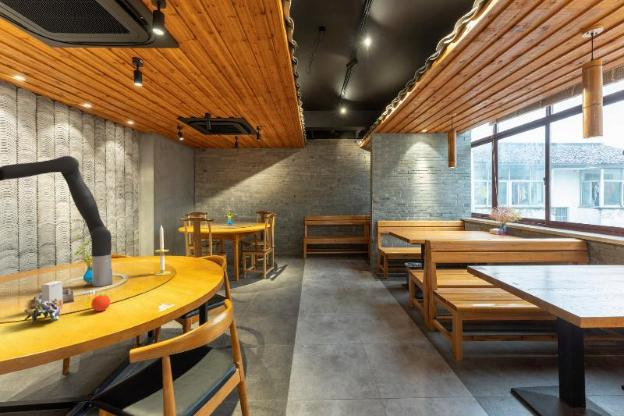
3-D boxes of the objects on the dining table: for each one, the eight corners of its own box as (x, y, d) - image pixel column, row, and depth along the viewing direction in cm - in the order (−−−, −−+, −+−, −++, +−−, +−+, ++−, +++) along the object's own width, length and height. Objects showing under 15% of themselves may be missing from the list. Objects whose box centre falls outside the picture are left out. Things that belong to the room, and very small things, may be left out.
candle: (168, 270, 202) (167, 223, 201) (172, 273, 195) (171, 224, 193) (152, 273, 196) (151, 224, 195) (156, 276, 188) (154, 225, 187)
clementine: (110, 305, 136) (110, 290, 136) (115, 309, 132) (115, 293, 131) (89, 311, 130) (88, 295, 130) (94, 315, 125) (93, 298, 125)
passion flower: (56, 333, 121) (63, 313, 117) (19, 337, 113) (26, 315, 109) (57, 311, 128) (64, 291, 124) (22, 313, 120) (28, 292, 116)
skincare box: (49, 312, 129) (48, 285, 129) (41, 311, 130) (40, 284, 130) (63, 306, 135) (62, 281, 135) (56, 306, 136) (55, 280, 136)
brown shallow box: (72, 292, 156) (72, 287, 156) (73, 301, 142) (73, 296, 142) (34, 299, 146) (33, 293, 146) (31, 309, 132) (30, 303, 132)
